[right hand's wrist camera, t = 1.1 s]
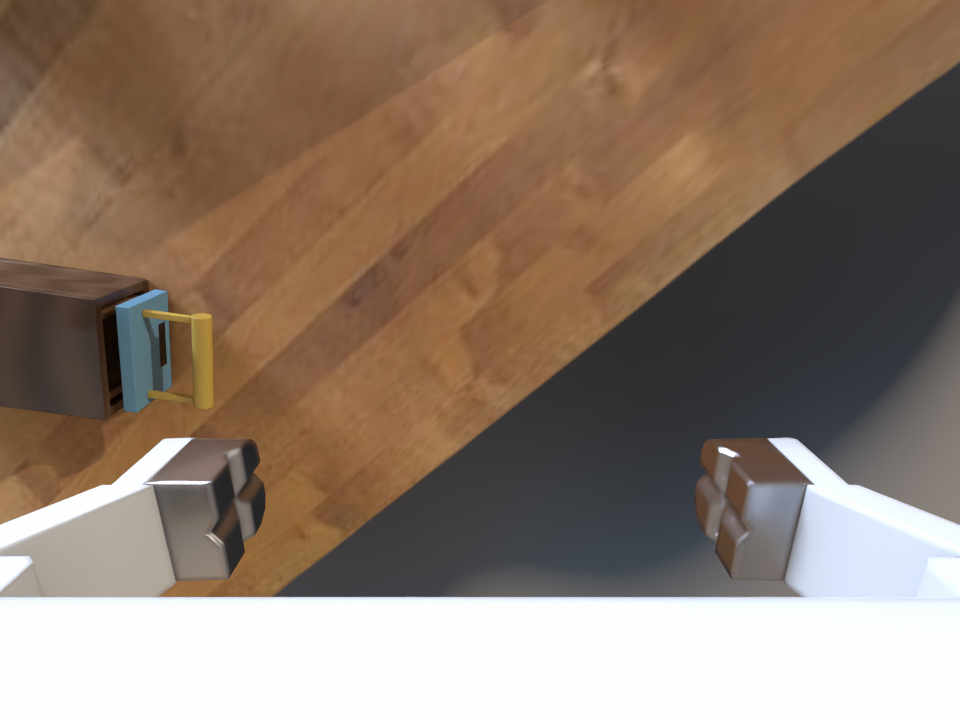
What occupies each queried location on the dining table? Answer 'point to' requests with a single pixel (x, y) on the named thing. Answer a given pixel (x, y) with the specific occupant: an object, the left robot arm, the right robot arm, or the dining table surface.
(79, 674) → the right robot arm
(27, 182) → the dining table surface
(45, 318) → the cabinet
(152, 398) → the drawer
